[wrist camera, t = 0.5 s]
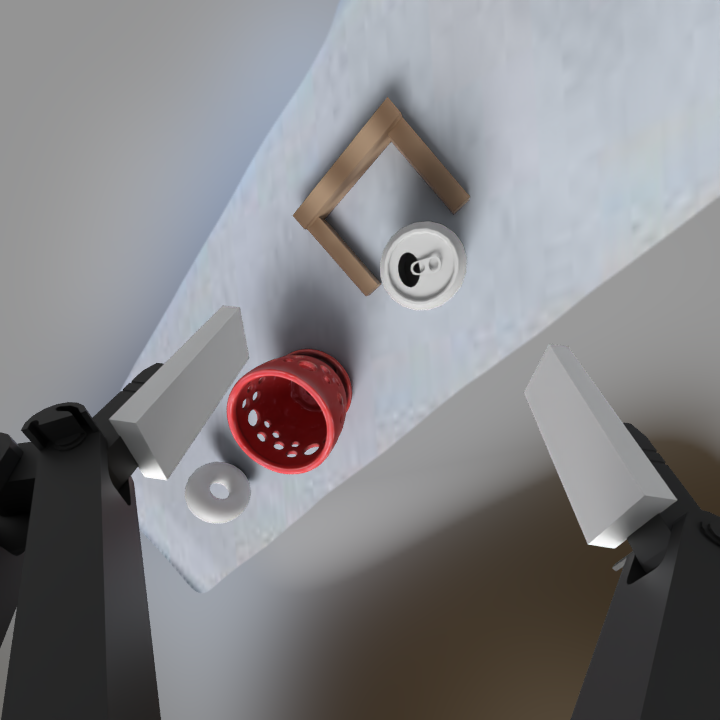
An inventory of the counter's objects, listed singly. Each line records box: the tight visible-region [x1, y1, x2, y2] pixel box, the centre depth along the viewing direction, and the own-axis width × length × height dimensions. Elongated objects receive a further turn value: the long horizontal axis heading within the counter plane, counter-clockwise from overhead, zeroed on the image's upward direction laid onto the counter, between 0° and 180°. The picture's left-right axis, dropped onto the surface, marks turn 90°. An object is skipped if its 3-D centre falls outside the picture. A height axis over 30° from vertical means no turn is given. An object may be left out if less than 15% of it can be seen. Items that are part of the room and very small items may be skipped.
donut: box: [185, 462, 251, 524], centre depth 50 cm, size 10×4×10 cm, turn 53°
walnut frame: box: [293, 97, 470, 296], centre depth 35 cm, size 15×12×3 cm
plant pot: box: [227, 349, 352, 474], centre depth 40 cm, size 13×13×12 cm
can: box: [380, 221, 467, 310], centre depth 32 cm, size 8×8×12 cm
